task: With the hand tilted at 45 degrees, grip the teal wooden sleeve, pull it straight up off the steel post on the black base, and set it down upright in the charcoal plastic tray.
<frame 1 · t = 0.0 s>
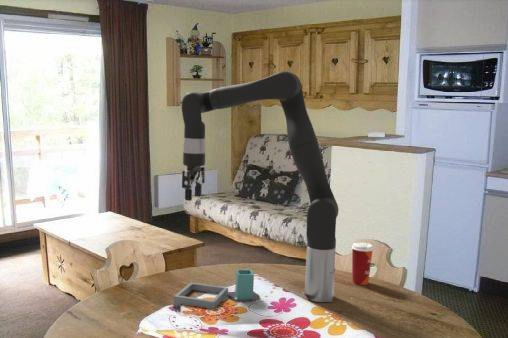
hand: (193, 198, 175), 29 cm above the table, tool pointing down, fingers open, 8 cm apart
teal sleeve: (244, 296, 161), point 1 cm above the table, touching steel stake
paper cup: (360, 283, 182), on the table
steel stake: (243, 301, 161), on the table
charcoal tray: (201, 302, 158), on the table
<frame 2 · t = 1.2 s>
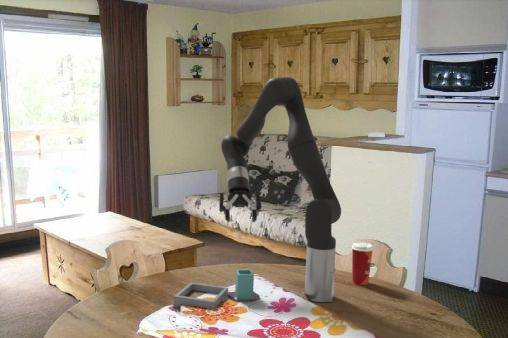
hand: (241, 221, 169), 23 cm above the table, tool tilted 45°, fingers open, 8 cm apart
nothing on the table moved.
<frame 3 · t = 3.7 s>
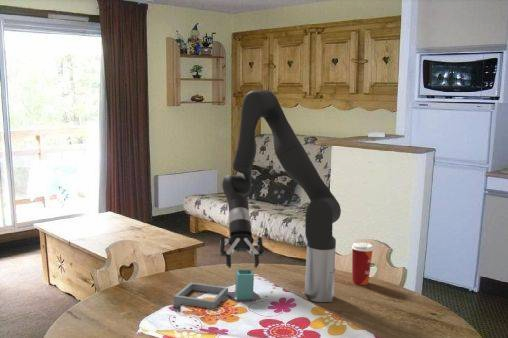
hand: (243, 266, 164), 10 cm above the table, tool tilted 45°, fingers open, 8 cm apart
nothing on the table moved.
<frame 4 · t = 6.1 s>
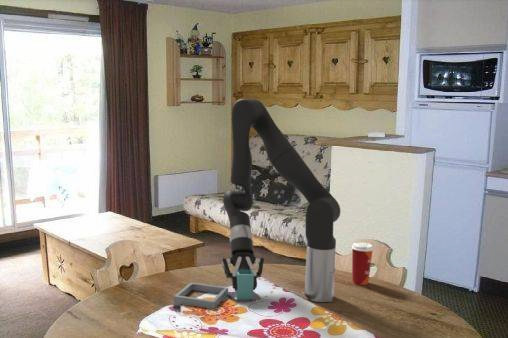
hand: (245, 289, 158), 5 cm above the table, tool tilted 45°, fingers closed on teal sleeve, 5 cm apart
teal sleeve: (243, 296, 161), point 2 cm above the table, touching gripper, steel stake
everything else where it was.
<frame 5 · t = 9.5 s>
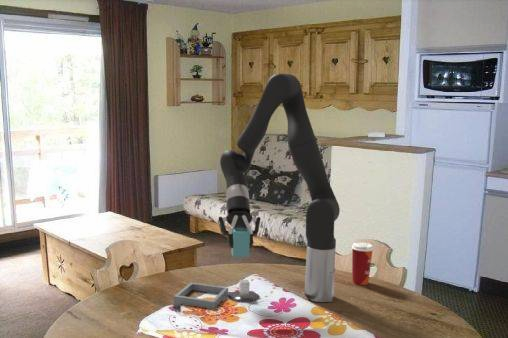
hand: (241, 246, 157), 18 cm above the table, tool tilted 45°, fingers closed on teal sleeve, 5 cm apart
teal sleeve: (240, 254, 159), point 15 cm above the table, touching gripper
everything else where it was.
when the fingers open (5 cm above the table, at t = 13.1 s): teal sleeve drops 1 cm, resting on charcoal tray.
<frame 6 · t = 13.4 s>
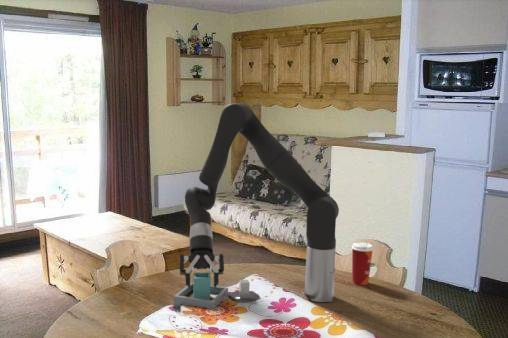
hand: (202, 286, 156), 6 cm above the table, tool tilted 45°, fingers open, 7 cm apart
teal sleeve: (201, 300, 158), point 1 cm above the table, touching charcoal tray
everything else where it was.
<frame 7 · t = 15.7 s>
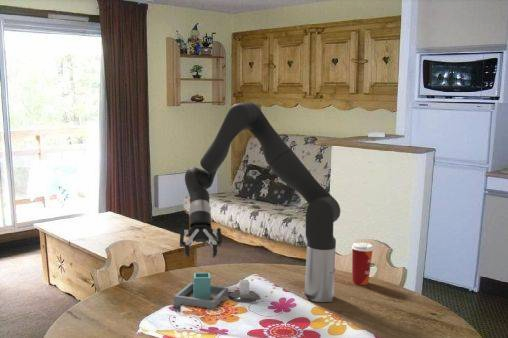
hand: (201, 256, 168), 11 cm above the table, tool tilted 45°, fingers open, 8 cm apart
nothing on the table moved.
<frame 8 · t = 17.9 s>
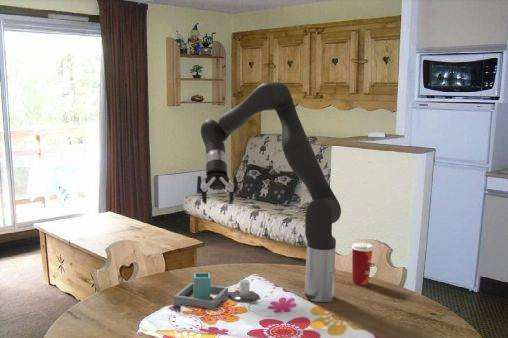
hand: (218, 202, 171), 29 cm above the table, tool tilted 45°, fingers open, 8 cm apart
nothing on the table moved.
at the end: teal sleeve inside the target area on the charcoal tray (0.1 cm from its centre), point 0.8 cm above the charcoal tray's base; teal sleeve tilted 0°; the gripper is holding nothing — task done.
